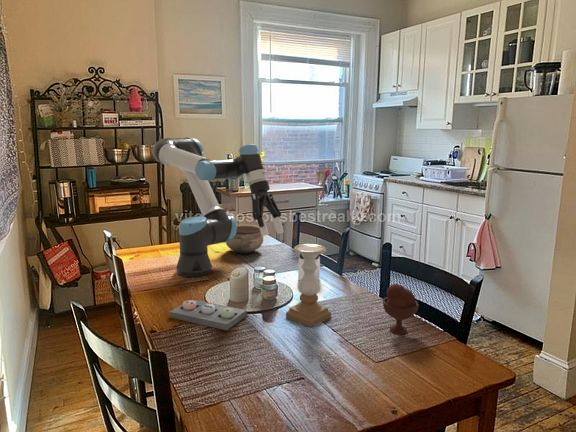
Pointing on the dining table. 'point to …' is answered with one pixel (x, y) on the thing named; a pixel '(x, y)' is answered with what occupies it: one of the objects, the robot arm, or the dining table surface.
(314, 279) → the candle holder
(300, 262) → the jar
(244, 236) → the cooking pot
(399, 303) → the ice cream bowl
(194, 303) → the button two
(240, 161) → the robot arm
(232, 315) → the button one
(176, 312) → the keypad board
